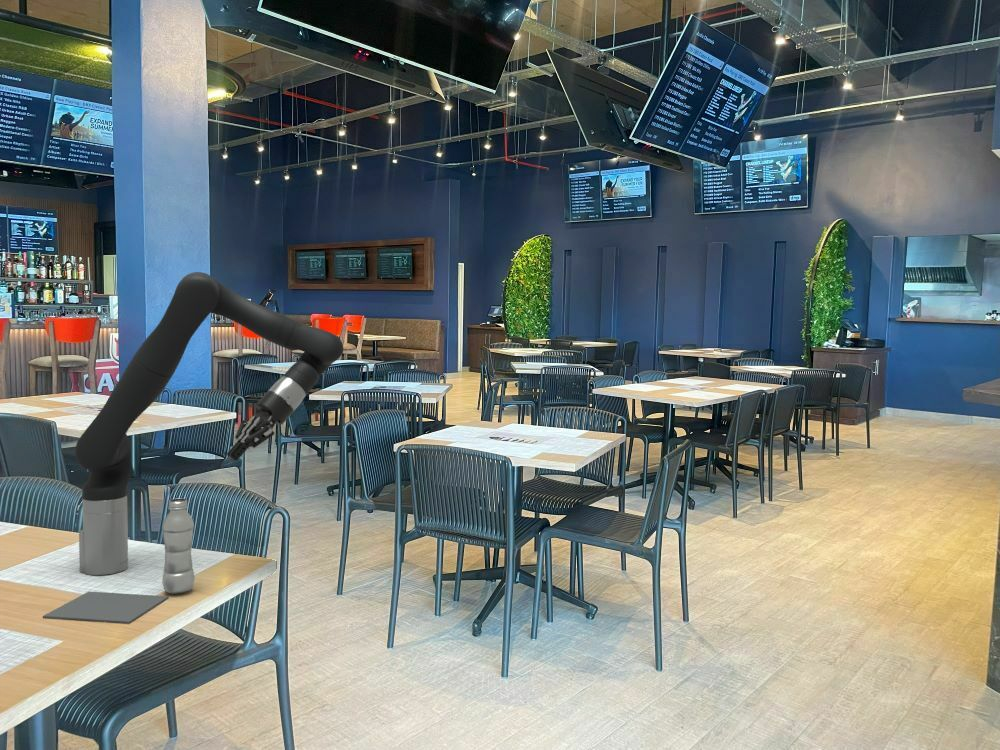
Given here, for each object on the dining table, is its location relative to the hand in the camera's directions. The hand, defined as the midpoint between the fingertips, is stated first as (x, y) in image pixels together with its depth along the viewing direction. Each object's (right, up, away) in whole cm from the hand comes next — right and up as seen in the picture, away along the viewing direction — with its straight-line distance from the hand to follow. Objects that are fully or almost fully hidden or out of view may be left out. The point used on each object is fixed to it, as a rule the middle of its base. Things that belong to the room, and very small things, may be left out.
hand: (231, 457), depth 173 cm
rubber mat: (-19, -29, -16) cm, 38 cm away
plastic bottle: (-9, -28, -6) cm, 30 cm away
